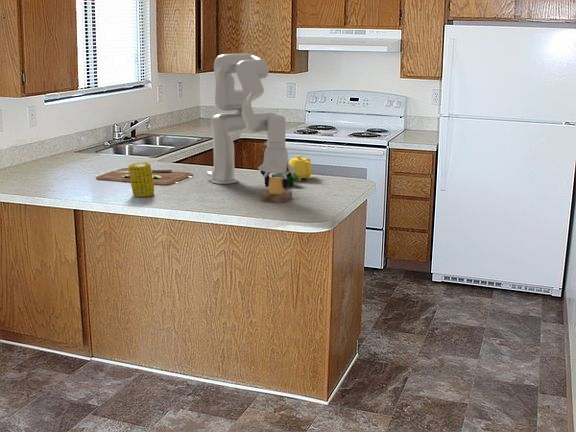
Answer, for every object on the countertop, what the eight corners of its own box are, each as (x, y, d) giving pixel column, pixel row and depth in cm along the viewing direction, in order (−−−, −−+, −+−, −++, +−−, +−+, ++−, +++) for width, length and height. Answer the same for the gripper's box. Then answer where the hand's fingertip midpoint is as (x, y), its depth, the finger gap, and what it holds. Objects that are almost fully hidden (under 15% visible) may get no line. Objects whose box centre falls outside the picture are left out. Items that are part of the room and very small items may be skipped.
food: (156, 200, 323) (132, 202, 320) (153, 188, 333) (129, 191, 330) (154, 167, 315) (129, 170, 313) (150, 156, 325) (126, 159, 323)
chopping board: (88, 180, 357) (88, 173, 357) (120, 169, 382) (119, 163, 381) (172, 187, 342) (172, 180, 341) (199, 176, 366) (199, 170, 366)
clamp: (280, 197, 340) (275, 181, 335) (273, 191, 345) (268, 176, 339) (301, 185, 344) (297, 169, 338) (294, 179, 348) (290, 164, 343)
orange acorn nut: (267, 193, 315) (266, 179, 314) (272, 190, 321) (272, 176, 319) (280, 194, 313) (280, 180, 312) (285, 191, 319) (285, 177, 317)
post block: (260, 200, 315) (260, 183, 313) (270, 195, 324) (270, 178, 322) (283, 203, 312) (283, 185, 310) (291, 197, 321) (291, 180, 319)
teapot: (283, 175, 365) (283, 152, 362) (311, 175, 365) (311, 153, 362) (283, 182, 351) (283, 158, 348) (312, 182, 351) (312, 158, 348)
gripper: (253, 145, 312) (253, 187, 316) (292, 148, 306) (292, 190, 310) (260, 142, 319) (260, 183, 323) (299, 145, 312) (299, 187, 317)
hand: (276, 186), depth 317 cm, fingers open, 7 cm apart
